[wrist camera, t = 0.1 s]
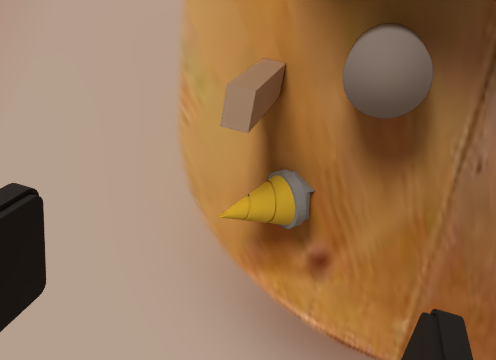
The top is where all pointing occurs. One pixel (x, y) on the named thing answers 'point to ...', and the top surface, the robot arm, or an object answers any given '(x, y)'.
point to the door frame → (252, 95)
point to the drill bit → (275, 201)
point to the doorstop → (387, 71)
